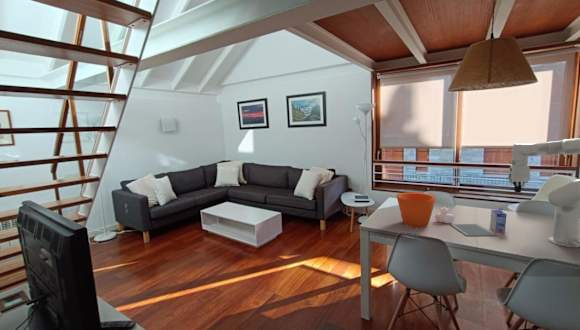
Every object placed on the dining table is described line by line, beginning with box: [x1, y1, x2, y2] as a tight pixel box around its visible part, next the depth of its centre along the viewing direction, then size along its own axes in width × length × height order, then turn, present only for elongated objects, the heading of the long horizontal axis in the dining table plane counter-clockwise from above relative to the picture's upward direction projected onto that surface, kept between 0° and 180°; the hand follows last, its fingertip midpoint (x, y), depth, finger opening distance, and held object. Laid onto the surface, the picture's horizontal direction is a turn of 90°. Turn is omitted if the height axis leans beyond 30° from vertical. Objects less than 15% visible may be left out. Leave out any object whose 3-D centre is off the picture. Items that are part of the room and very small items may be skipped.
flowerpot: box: [396, 191, 437, 228], centre depth 192 cm, size 25×25×20 cm
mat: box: [449, 223, 498, 237], centre depth 177 cm, size 20×18×1 cm
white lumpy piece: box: [434, 206, 455, 224], centre depth 195 cm, size 12×8×11 cm
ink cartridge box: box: [489, 207, 507, 234], centre depth 175 cm, size 10×6×14 cm, turn 161°
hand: (517, 192), depth 172 cm, fingers closed
